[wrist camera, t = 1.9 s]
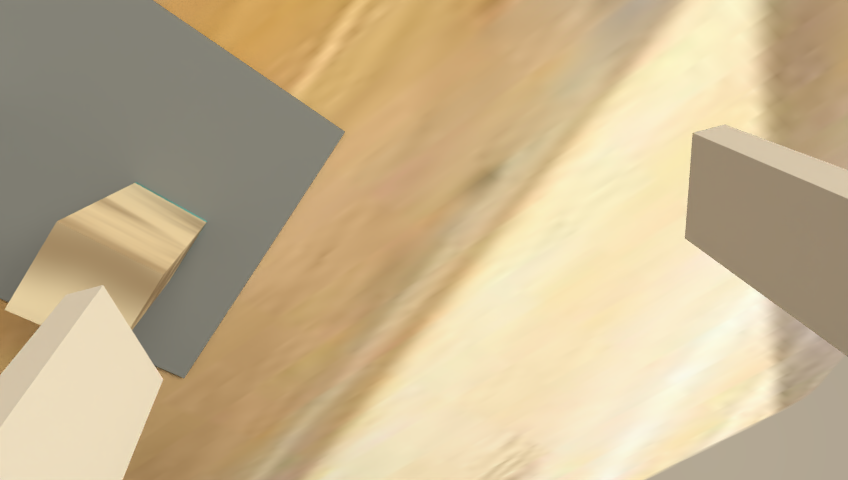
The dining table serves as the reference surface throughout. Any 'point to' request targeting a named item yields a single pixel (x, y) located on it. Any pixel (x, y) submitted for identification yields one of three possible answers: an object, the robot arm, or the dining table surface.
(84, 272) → the birch block
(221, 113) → the rubber mat
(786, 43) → the dining table surface
